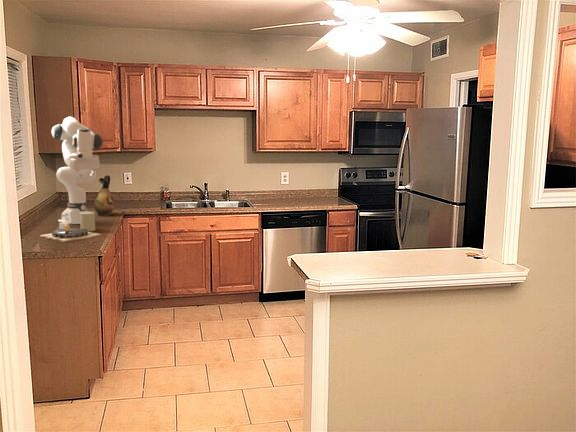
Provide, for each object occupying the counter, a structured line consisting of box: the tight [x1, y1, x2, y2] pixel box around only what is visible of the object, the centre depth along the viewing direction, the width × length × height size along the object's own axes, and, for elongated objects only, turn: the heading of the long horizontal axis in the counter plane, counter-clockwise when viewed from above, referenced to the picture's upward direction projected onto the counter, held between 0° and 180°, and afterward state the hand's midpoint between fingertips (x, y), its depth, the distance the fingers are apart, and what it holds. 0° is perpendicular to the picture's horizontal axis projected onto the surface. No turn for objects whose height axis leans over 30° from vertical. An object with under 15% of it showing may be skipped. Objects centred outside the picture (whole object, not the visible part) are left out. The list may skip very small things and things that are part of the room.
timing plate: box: [38, 226, 101, 243], centre depth 332 cm, size 25×25×4 cm
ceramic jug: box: [93, 174, 116, 217], centre depth 408 cm, size 17×15×30 cm
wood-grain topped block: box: [58, 222, 71, 231], centre depth 334 cm, size 6×3×4 cm, turn 58°
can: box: [79, 211, 97, 232], centre depth 351 cm, size 9×9×12 cm
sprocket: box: [51, 225, 89, 238], centre depth 331 cm, size 20×20×7 cm
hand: (85, 176), depth 345 cm, fingers open, 8 cm apart
